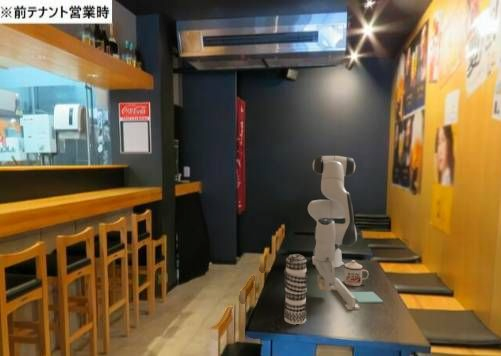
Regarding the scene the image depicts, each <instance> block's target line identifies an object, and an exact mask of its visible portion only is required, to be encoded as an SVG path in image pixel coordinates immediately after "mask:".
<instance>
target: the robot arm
mask: <svg viewBox="0 0 501 356" xmlns="http://www.w3.org/2000/svg"><path fill="white" fill-rule="evenodd" d="M312 170H313V172H314V173H315V174H316V175H318V176H321V181H320V183H321V184H320V190H321V194H322V195H323V196H324V197H325V198H327V199H316V200H315V199H314V200H311V201H310V202H309V203H308V205H307V212H308V214H309V215H310V216H311V218H312V219H313V220H314V221H316V226H315V228H314V239H315V243H316V244H315V245H314V246H315V247H314V249H313V255H312V258H311V260H312V265H314V266H315V269H317V271H318V273H319V276H322V277H323V278H324V280H325V283H324V287H325V288H329V283H332V284H333V283H335V278H336V275H335V274H336V268H340V267H341V266H344V265H345V262H343V257H342V250H341V249H340V245H341V246H345V247H351V246H353V245H355V244H356V243H357V239H358V233H357V228H356V225H355V218H354V210H353V209H354V208H353V204H352V198H351V194H350V192H349V191H347V189H346V188H345V178H347V177H352V176H353V175H354V173H355V170H356V162H355V160H354V158H353V157H349V156H341V155H317V156H316V157H315V158H314V160H313V162H312ZM334 219H340V220H341V219H345V220H344V223H337V222H336V223H335V220H334Z"/></svg>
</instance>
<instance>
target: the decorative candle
mask: <svg viewBox="0 0 501 356" xmlns="http://www.w3.org/2000/svg"><path fill="white" fill-rule="evenodd" d="M285 261H286V264H285V269H283V273H284V275H283V276H284V279H283V280H284V291H285V300H284V301H283V302H284V305H283V306H284V311H283V312H284V314H283V316H284V321H285V323H287V324H291V325H296V324H299V325H303V324H305V323H306V322H307V301H306V300H307V297H306V292H307V288H308V285H307V284H308V278H309V277H308V276H307V275H308V273H309V271H308V270H307V261H308V259H306V258H305V256H304V255H302V254H299V253H293V254H289V255H288V257H287V258H286V259H285ZM305 321H306V322H305Z"/></svg>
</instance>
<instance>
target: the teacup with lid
mask: <svg viewBox="0 0 501 356" xmlns="http://www.w3.org/2000/svg"><path fill="white" fill-rule="evenodd" d="M343 267H344V270H343V271H344V272H343V273H344V274H343V275H344V277H343V282H344V283H343V284H344V285H345V284H346V285H347V286H351V287H360V286H361V285H362V284H363V280H367V279H368V278H369V275H370V274H369V271H368V270H367V269H364V268H363V265H362V264H359V262H356V260H354V259H353V260H351V261H350V262H347V263H344V265H343ZM363 272H365V273H366V276H365V277H363Z"/></svg>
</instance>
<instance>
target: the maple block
mask: <svg viewBox="0 0 501 356" xmlns="http://www.w3.org/2000/svg"><path fill="white" fill-rule="evenodd" d="M324 283H325V280H324V278H323V277H322V276H320V275H317V288H318V290H319V291H321V292H323V291H324V292H328V291H329V292H331V291H332V289H331V286H333V285H332V284H333V283H329V288H325V287H324Z"/></svg>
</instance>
